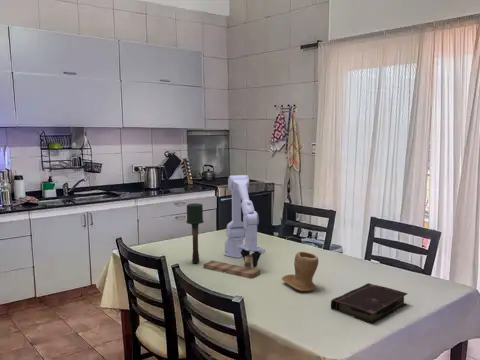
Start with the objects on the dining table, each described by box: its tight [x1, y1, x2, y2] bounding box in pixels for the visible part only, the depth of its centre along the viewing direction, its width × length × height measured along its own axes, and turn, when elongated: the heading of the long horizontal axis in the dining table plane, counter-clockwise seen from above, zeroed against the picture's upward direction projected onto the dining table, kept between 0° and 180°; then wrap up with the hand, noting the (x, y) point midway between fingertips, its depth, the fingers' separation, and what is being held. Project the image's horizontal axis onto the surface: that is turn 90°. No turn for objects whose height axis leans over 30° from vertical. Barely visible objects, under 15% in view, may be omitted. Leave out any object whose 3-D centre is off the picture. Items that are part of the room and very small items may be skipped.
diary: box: [330, 282, 408, 325], centre depth 165 cm, size 19×25×5 cm
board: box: [202, 260, 261, 279], centre depth 207 cm, size 28×7×2 cm, turn 57°
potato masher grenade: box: [186, 202, 205, 264], centre depth 218 cm, size 8×9×30 cm
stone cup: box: [281, 251, 319, 292], centre depth 186 cm, size 15×12×15 cm
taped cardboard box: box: [244, 253, 258, 270], centre depth 208 cm, size 4×5×6 cm
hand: (251, 265), depth 209 cm, fingers closed on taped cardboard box, 4 cm apart
